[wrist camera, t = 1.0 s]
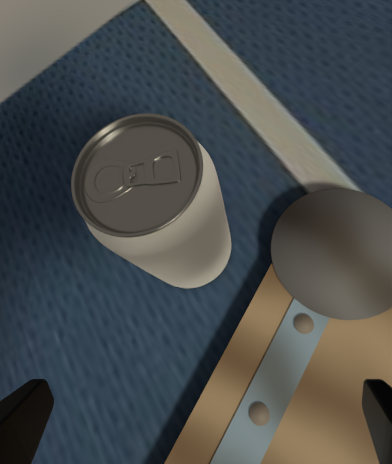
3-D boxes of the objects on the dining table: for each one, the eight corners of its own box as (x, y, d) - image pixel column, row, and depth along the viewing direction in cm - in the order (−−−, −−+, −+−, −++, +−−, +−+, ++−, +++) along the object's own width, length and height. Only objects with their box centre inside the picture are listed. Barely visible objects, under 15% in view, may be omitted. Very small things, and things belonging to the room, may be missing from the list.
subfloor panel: (504, 879, 13) (534, 942, 11) (117, 516, 19) (107, 530, 18) (650, 321, 18) (682, 320, 16) (302, 178, 24) (306, 169, 22)
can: (146, 216, 25) (61, 123, 14) (224, 201, 24) (201, 89, 13) (153, 295, 23) (59, 261, 12) (238, 282, 22) (226, 230, 11)
